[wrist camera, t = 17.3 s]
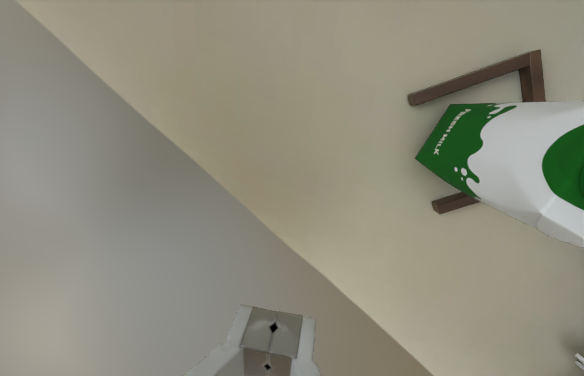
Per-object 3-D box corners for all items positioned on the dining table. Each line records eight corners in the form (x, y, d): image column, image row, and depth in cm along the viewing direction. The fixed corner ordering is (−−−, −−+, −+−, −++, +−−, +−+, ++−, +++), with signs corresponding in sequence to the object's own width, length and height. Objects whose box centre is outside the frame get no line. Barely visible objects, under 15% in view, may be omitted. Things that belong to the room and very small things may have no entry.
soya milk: (448, 92, 31) (707, 64, 12) (512, 131, 32) (846, 164, 13) (403, 161, 33) (559, 235, 14) (465, 195, 34) (690, 308, 15)
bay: (407, 95, 31) (413, 94, 29) (528, 51, 30) (540, 49, 28) (433, 210, 35) (439, 214, 33) (542, 176, 33) (553, 178, 32)
